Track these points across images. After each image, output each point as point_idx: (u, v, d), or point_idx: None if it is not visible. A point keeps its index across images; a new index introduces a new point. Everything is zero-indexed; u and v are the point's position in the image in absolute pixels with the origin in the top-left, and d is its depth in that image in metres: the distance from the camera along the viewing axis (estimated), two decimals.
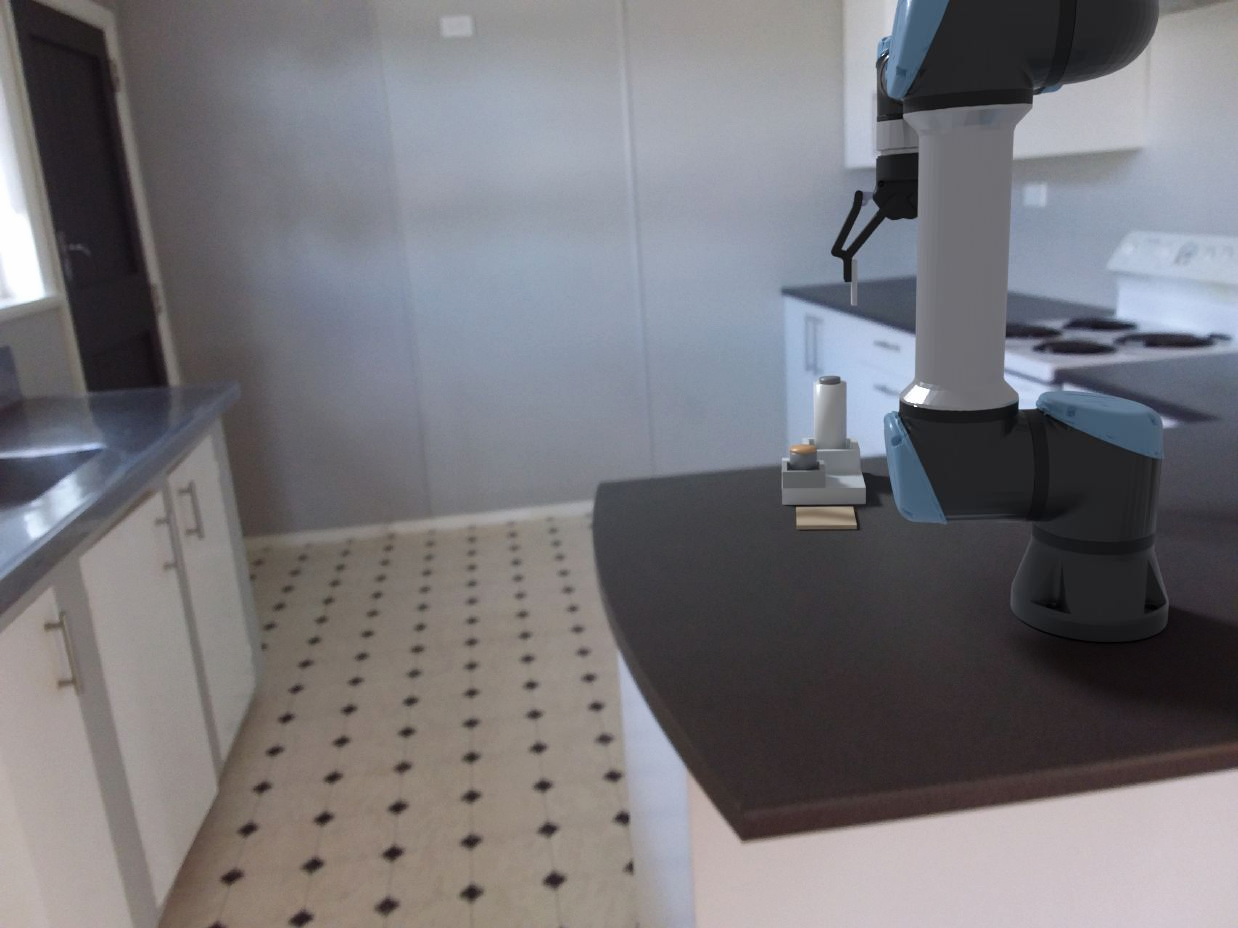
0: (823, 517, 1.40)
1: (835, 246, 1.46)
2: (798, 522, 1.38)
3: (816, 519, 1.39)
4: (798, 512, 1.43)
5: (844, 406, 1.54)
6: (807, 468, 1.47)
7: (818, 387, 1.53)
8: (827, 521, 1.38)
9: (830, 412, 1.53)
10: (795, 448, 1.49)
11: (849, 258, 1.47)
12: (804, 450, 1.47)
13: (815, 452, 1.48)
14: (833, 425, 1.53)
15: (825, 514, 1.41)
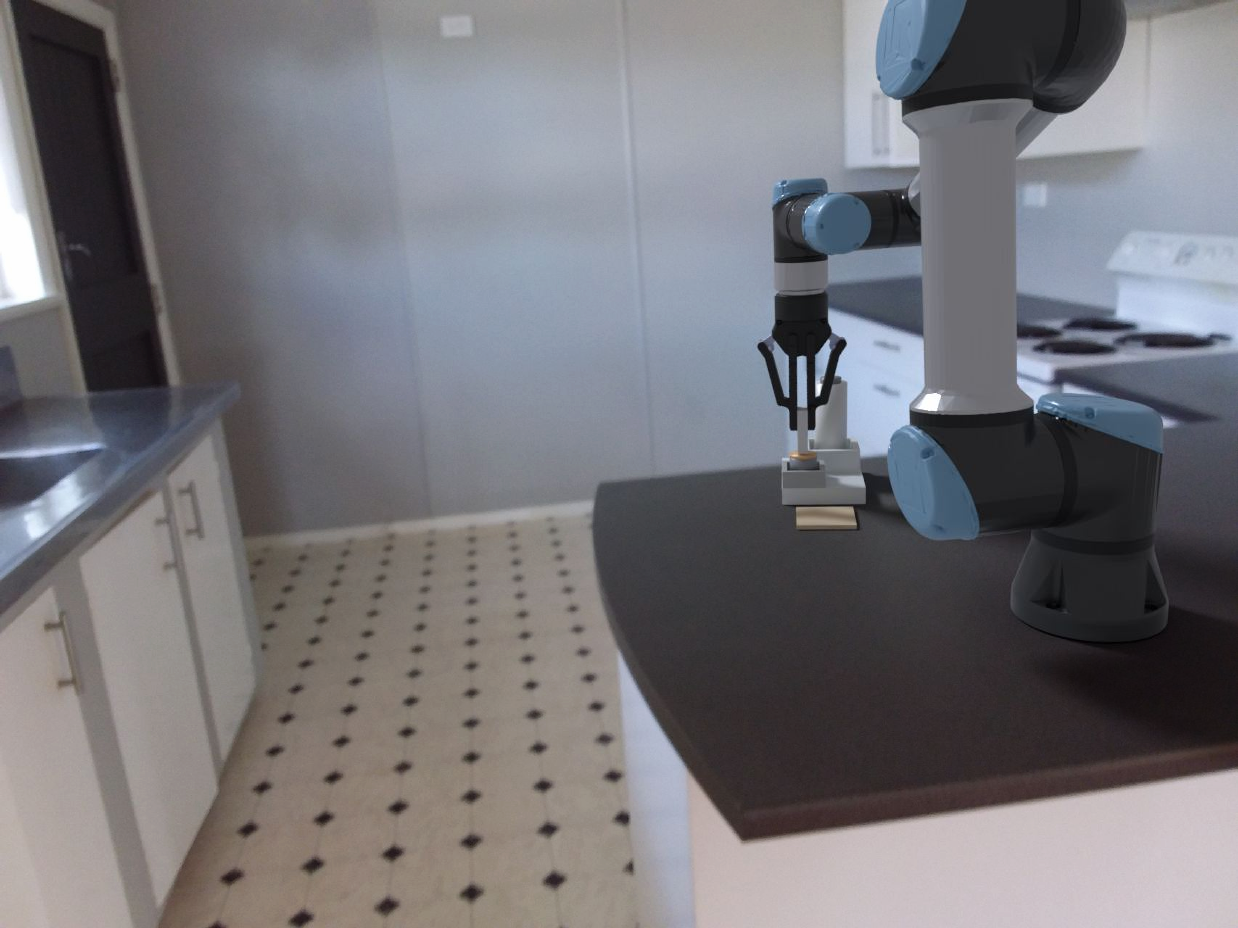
0: (823, 517, 1.40)
1: (776, 397, 1.46)
2: (798, 522, 1.38)
3: (816, 519, 1.39)
4: (798, 512, 1.43)
5: (845, 406, 1.54)
6: None
7: (819, 386, 1.53)
8: (827, 521, 1.38)
9: (830, 411, 1.53)
10: (795, 454, 1.49)
11: (795, 406, 1.46)
12: (804, 456, 1.47)
13: (815, 458, 1.48)
14: (834, 425, 1.53)
15: (825, 514, 1.41)
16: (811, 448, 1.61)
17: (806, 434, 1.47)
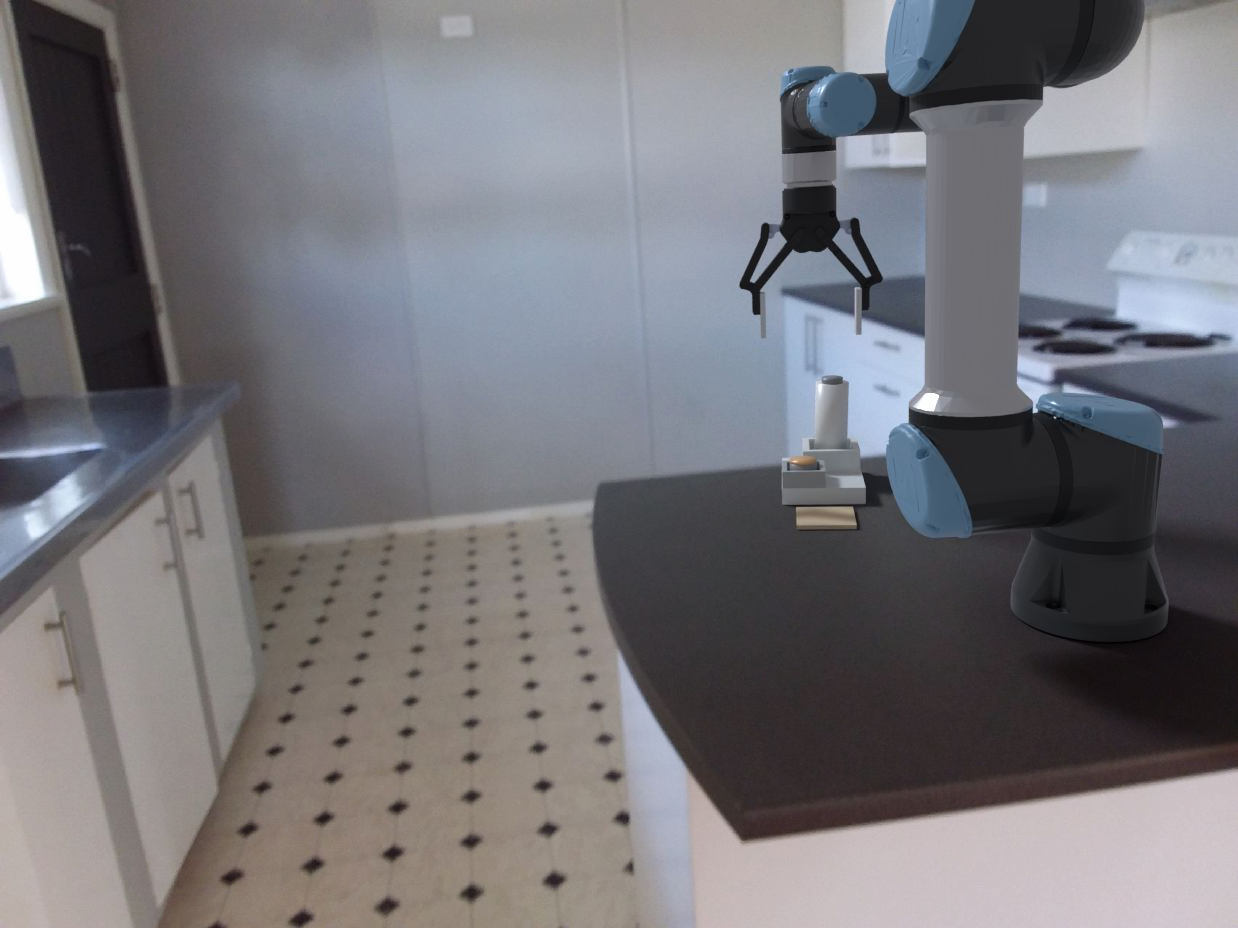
0: (823, 517, 1.40)
1: (743, 279, 1.45)
2: (798, 522, 1.38)
3: (816, 519, 1.39)
4: (798, 512, 1.43)
5: (846, 406, 1.53)
6: None
7: (820, 386, 1.53)
8: (827, 521, 1.38)
9: (831, 411, 1.53)
10: (795, 460, 1.49)
11: (757, 291, 1.45)
12: (804, 462, 1.48)
13: (815, 464, 1.48)
14: (835, 425, 1.53)
15: (825, 514, 1.41)
16: (811, 448, 1.61)
17: (860, 314, 1.44)
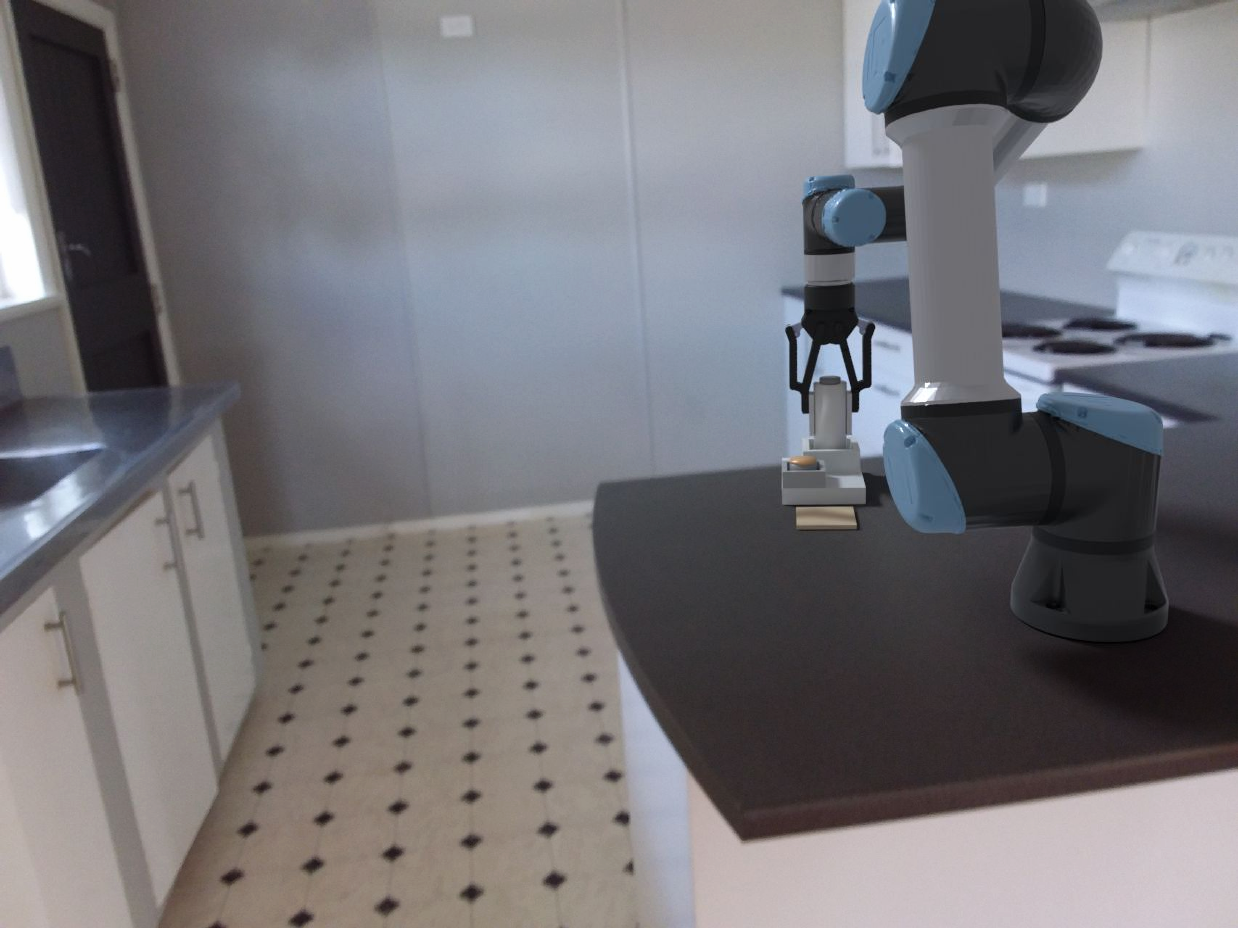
0: (823, 517, 1.40)
1: (790, 381, 1.54)
2: (798, 522, 1.38)
3: (816, 519, 1.39)
4: (798, 512, 1.43)
5: (845, 406, 1.53)
6: None
7: (818, 387, 1.53)
8: (827, 521, 1.38)
9: (831, 412, 1.53)
10: (795, 460, 1.49)
11: (807, 391, 1.54)
12: (804, 462, 1.48)
13: (815, 464, 1.48)
14: (834, 426, 1.53)
15: (825, 514, 1.41)
16: (811, 448, 1.61)
17: (850, 416, 1.54)
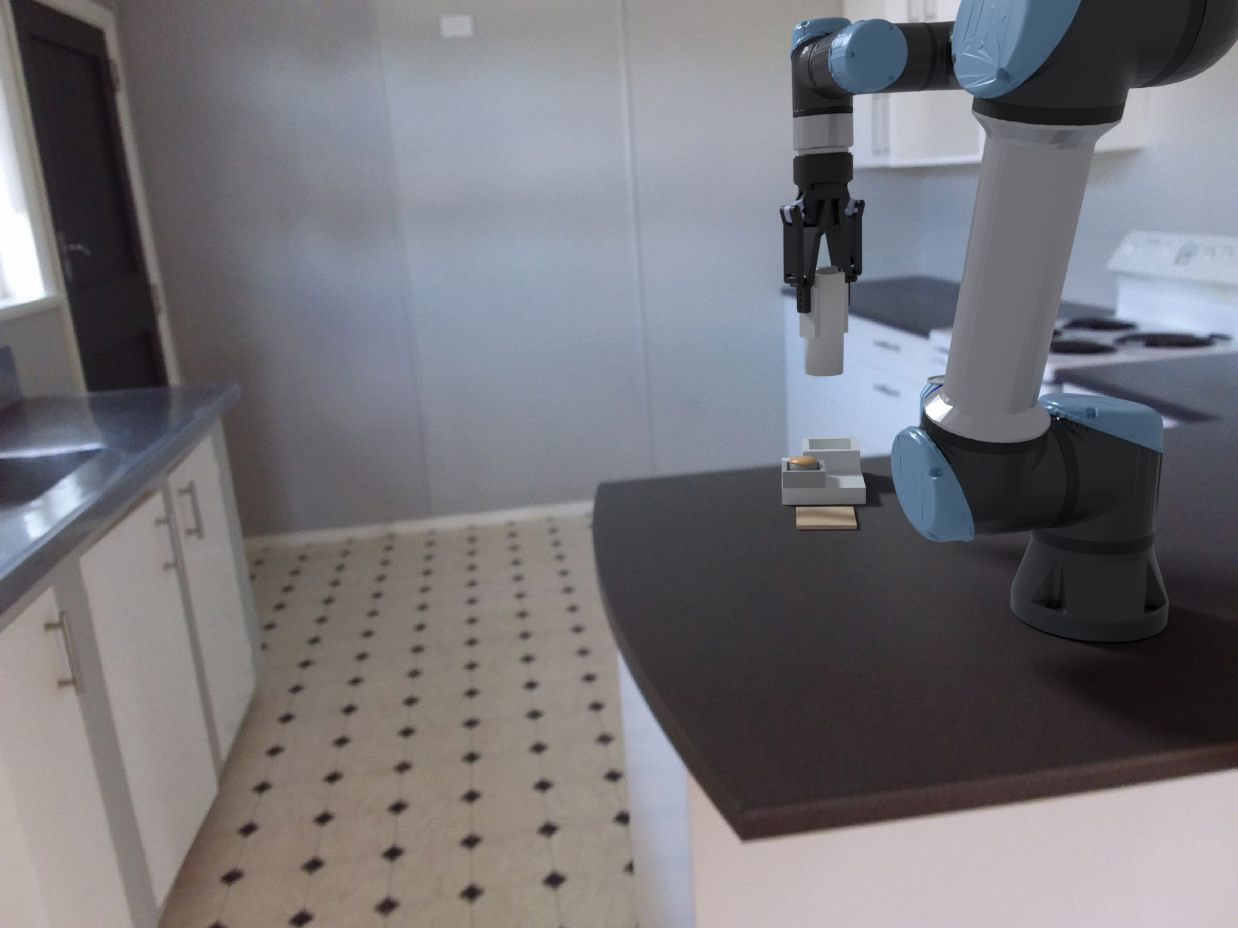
0: (823, 517, 1.40)
1: (798, 273, 1.27)
2: (798, 522, 1.38)
3: (816, 519, 1.39)
4: (798, 512, 1.43)
5: None
6: None
7: (826, 277, 1.29)
8: (827, 521, 1.38)
9: (839, 305, 1.31)
10: (795, 460, 1.49)
11: (812, 284, 1.29)
12: (804, 462, 1.48)
13: (815, 464, 1.48)
14: (841, 321, 1.32)
15: (825, 514, 1.41)
16: (811, 448, 1.61)
17: (847, 310, 1.34)
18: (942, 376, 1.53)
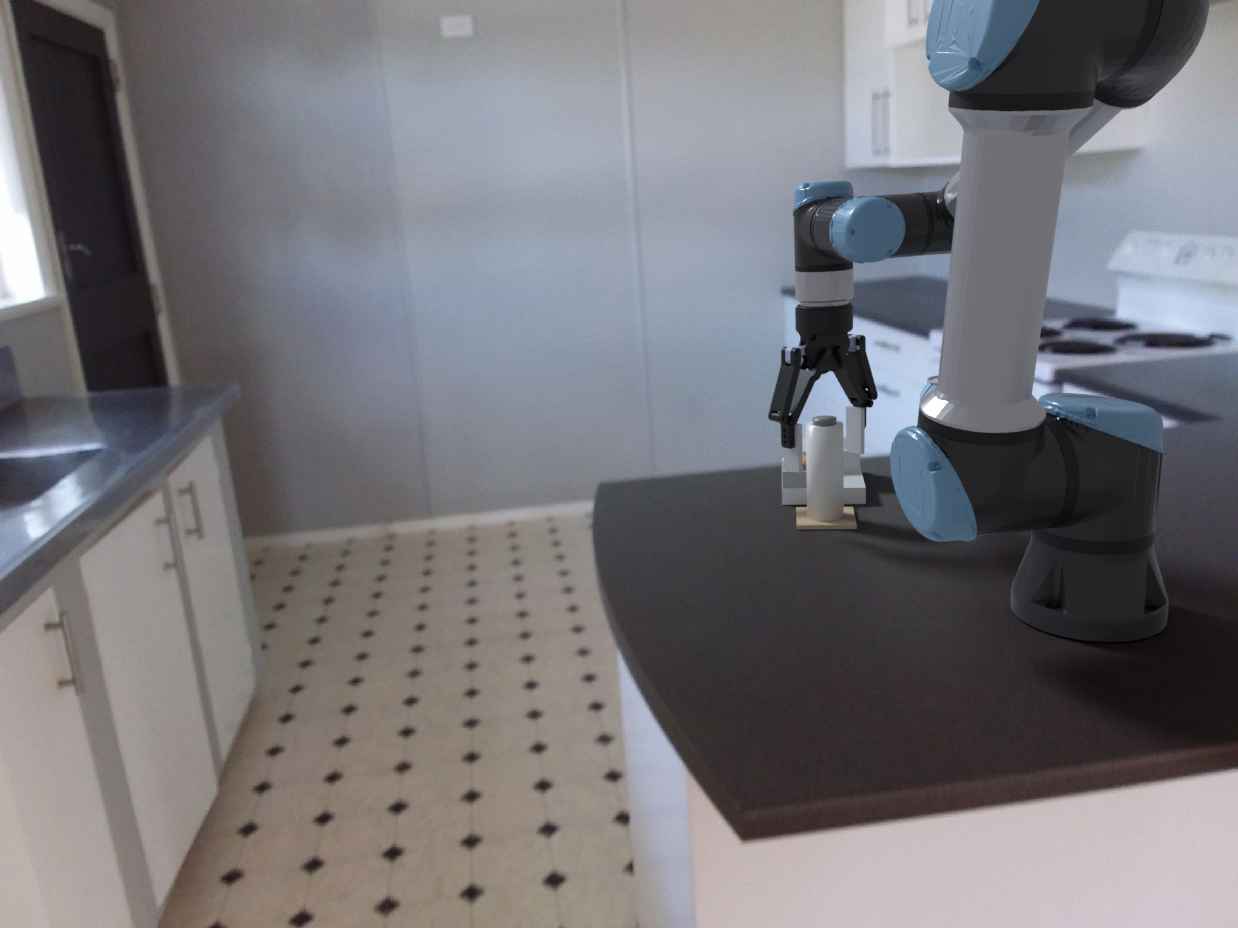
0: None
1: (783, 412, 1.30)
2: (798, 522, 1.38)
3: None
4: (798, 512, 1.43)
5: None
6: None
7: (825, 429, 1.35)
8: None
9: (838, 455, 1.36)
10: None
11: (795, 422, 1.32)
12: (804, 462, 1.48)
13: None
14: (841, 470, 1.37)
15: None
16: None
17: (863, 433, 1.40)
18: None
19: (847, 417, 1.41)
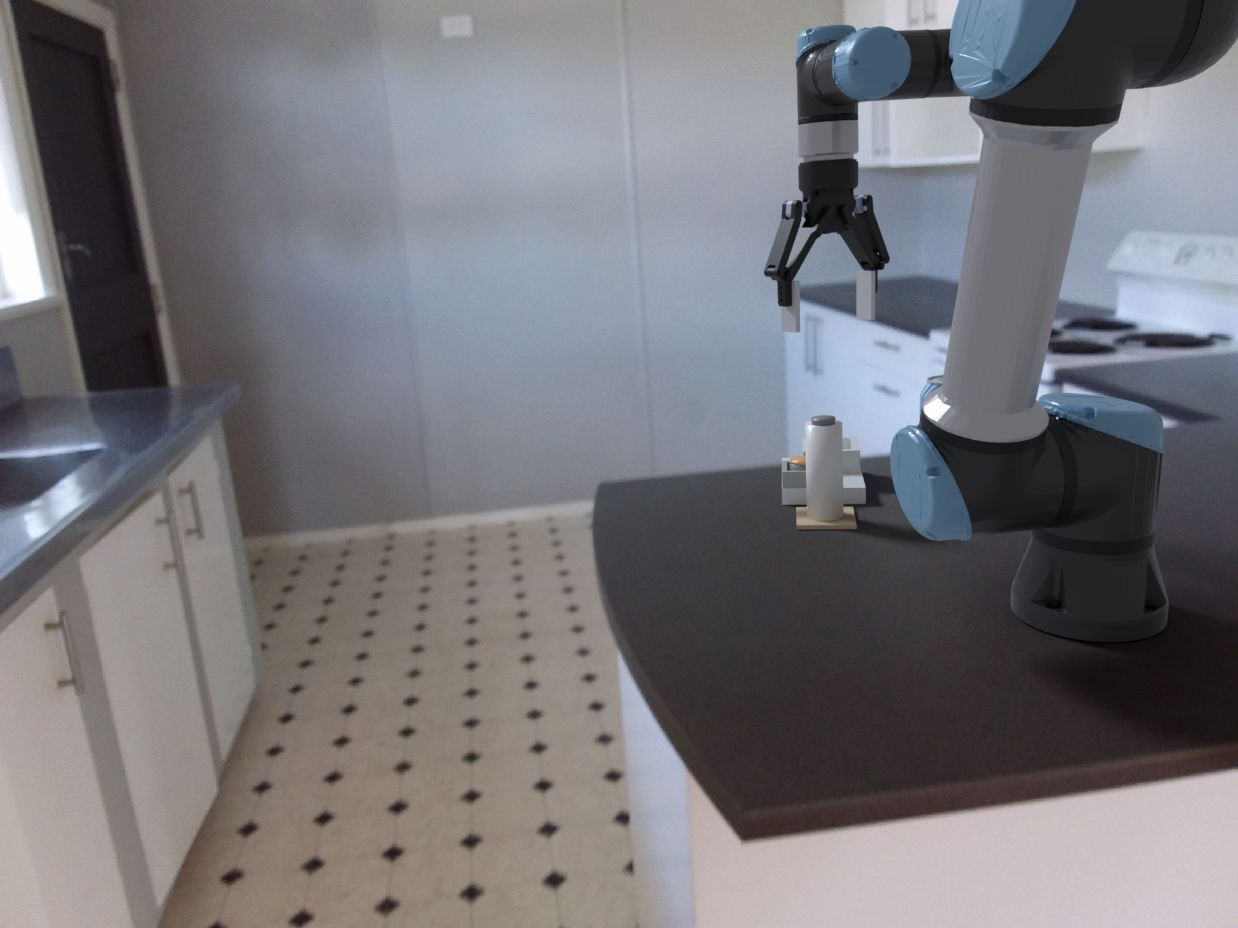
0: None
1: (780, 265, 1.25)
2: (798, 522, 1.38)
3: None
4: (798, 512, 1.43)
5: None
6: None
7: (824, 429, 1.35)
8: (827, 521, 1.38)
9: (838, 454, 1.36)
10: (795, 460, 1.49)
11: (792, 278, 1.27)
12: (804, 462, 1.48)
13: None
14: (840, 469, 1.37)
15: None
16: None
17: (874, 297, 1.35)
18: (942, 376, 1.53)
19: (857, 282, 1.36)
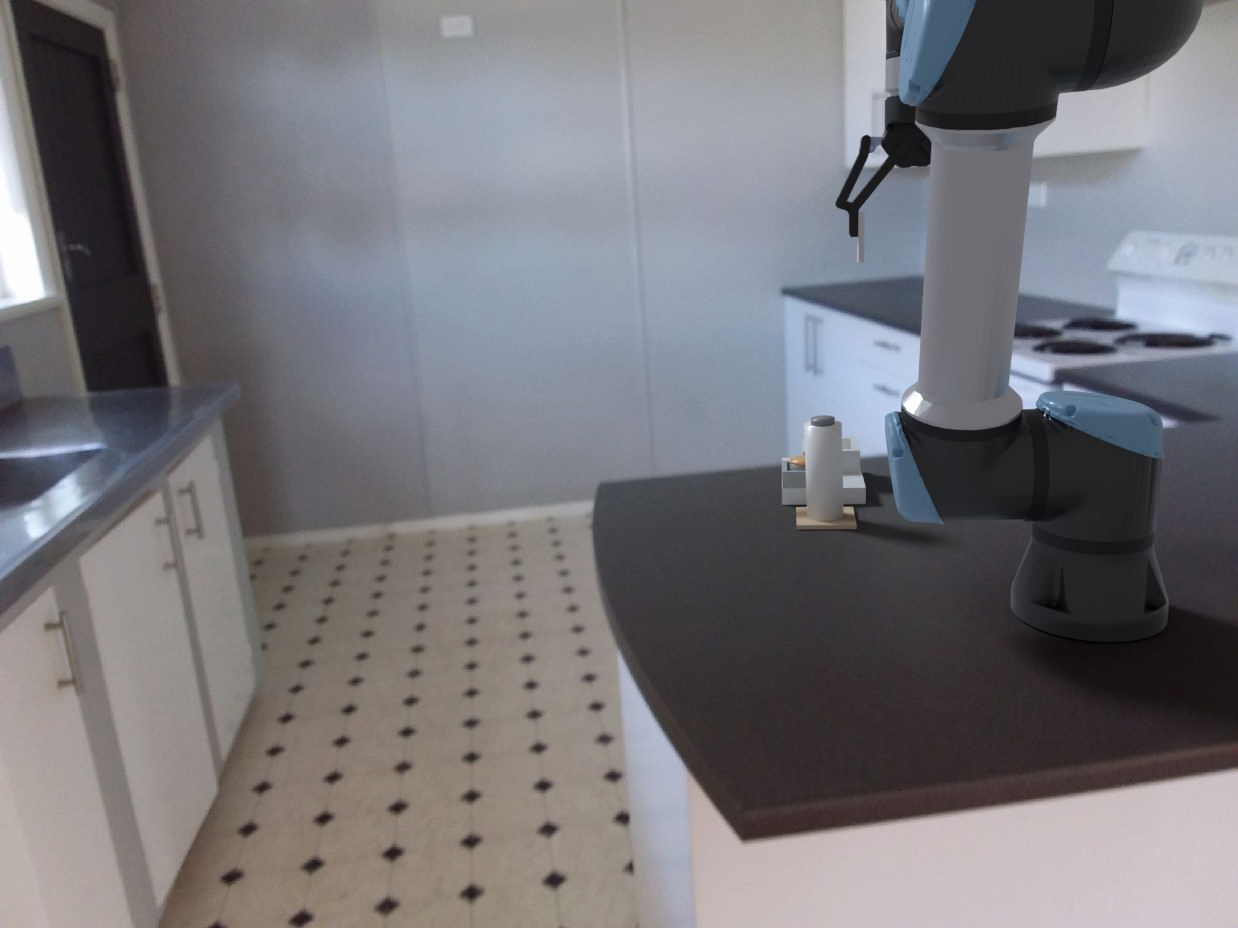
0: None
1: (840, 197, 1.34)
2: (798, 522, 1.38)
3: None
4: (798, 512, 1.43)
5: None
6: None
7: (824, 430, 1.35)
8: (827, 521, 1.38)
9: (837, 455, 1.36)
10: (795, 460, 1.49)
11: (855, 210, 1.34)
12: (804, 462, 1.48)
13: None
14: (840, 469, 1.37)
15: None
16: None
17: None
18: None
19: None
